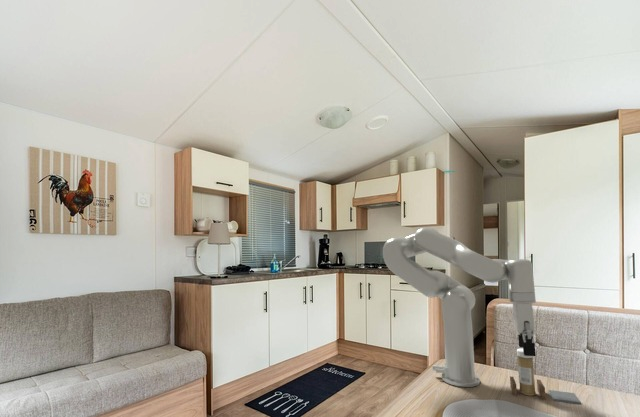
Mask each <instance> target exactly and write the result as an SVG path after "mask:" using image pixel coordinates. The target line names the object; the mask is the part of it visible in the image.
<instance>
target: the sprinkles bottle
mask: <svg viewBox="0 0 640 417" xmlns="http://www.w3.org/2000/svg"><path fill="white" fill-rule="evenodd" d="M516 355H517V367H518V368H517V370H518V382H519V392H520V394H522V395H524V396H530V397H532V396H536V386H535V385H536V384H535V382H536V381H535V372H534V361H533V360H534V356H525V355H524V352H523V347H519V348H517V349H516Z"/></svg>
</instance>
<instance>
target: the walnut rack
mask: <svg viewBox="0 0 640 417" xmlns="http://www.w3.org/2000/svg"><path fill="white" fill-rule="evenodd" d="M509 381H510V382H509V384H510V389H511V392H512V395H513V396H514V397H515V396H516V397H517V396H518V392H517V383H516V380H515V377H514V376H509ZM536 390H537V393H538V395H539V396H540V398H541V400H545V401H546V400H547V399H546V387H545V385H544V383H543V382H542V380H541V379H539V378H537V379H536Z"/></svg>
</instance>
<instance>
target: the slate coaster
mask: <svg viewBox="0 0 640 417" xmlns="http://www.w3.org/2000/svg"><path fill="white" fill-rule="evenodd" d="M547 390H548V391H547V392H548V394H549V395H550V397H551V398H552V401H554V402H561V403H568V404H577V405H582V402H581V400H580V399H579V397H577V395H576V393H574V392H568V391H560V390H551V389H547Z"/></svg>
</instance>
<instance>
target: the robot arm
mask: <svg viewBox="0 0 640 417" xmlns="http://www.w3.org/2000/svg"><path fill="white" fill-rule="evenodd" d="M424 253H428V254H430V255H432V256H435V257H436V258H439V259H440V260H444V261H445V262H447V263H449V264H451V265H452V266H455V267H456V268H458V269H460V270H462V271H464V272H466V273H467V274H470V275H471V276H473V277H476V278H478V279H480V280H482V281H484V282H487V283H492V284H493V283H498V282H500V281H504V280H507V286H508V287H507V288H508V298H509V302H510V303H512V316H513V328H514V331H515V332H516V333H517V334H518V335H517V338H518V339H517V340H518V346H519V348H523V352H524V355H525V356H533V357H536V353H537V352H536V346H535V344H536V343H535V340H534V335H535V334H536V333H535V332H536V330H535V328H536V327H535V319H534V309H533V304H535V303H536V302H537V301H536V299H537V298H536V291H535V281H534V280H535V279H534V270H533V263H532V261H531V260H529V259H523V258H521V259H519V258H517V259H516V258H515V259H501V258H489V257H487V256H485V255H483V254H480V253H478V252H476V251H474V250H471V249H470V248H469V247H467V246H466V245H465V244H464V243H462V242H460V241H459V240H456V239H454V238H452V237H449V236H447V235H445V234H442V233H440V232H439V231H438V230H436V229H434V228H429V227H422V228H419V229H417V230H416V231H415V233H414V234H411V235H409V236H406V237H392V238H390V239H388V240H387V241H385V243H384V244H383V247H382V257H383V261H384V264H385V265H386V266H387V268H388V269H389V271H390V272H392V273H393V274H394V275H395V276H397V277H398V278H400V279H401V280H403V281H404V282H405V283H407V284H408V285H410V286H411V287H413V288H414V289H415V290H417V291H418V292H420V293H421V294H422V295H423V296H425V297H427V298H432V299H433V298H436V297H437V298H439V299H440V300H441V313H442V318H443V320H442V321H443V334H444V355H445V358H444V359H445V362H444V365H443V364H441V365H438V364H437V365H436V364H433V365H432V371H434V372H435V373H436V374H437V373H439V374H441V375H440V376H441V380H442V381H443V382H445V383H447V384H448V385H452V386H454V387H455V386H456V387H461V388H472V387H476V386H479V385H480V383H481V379H480V377H479V376H477V375H476V372H475V369H476V368H475V352H474V351H475V350H474V348H475V347H474V335H473V334H474V333H473V322H472V321H473V320H472V313H471V312H472V310H473V309H474V307H475V306H476V305H475V304H476V297H475V294H474V292H473V291H472V290H471V289H470V288H468V287H467V286H466V285H464V284H462V283H461V282H459V281H458V280H456V279H454V278H453V277H452V276H450V275H448V274H447V273H445V272H442V271H441V270H440V271H439V270H429V269H427V268H426V267H423V266H422V265H420V263H417V262H416V261H414V260H412V259H410V258H412V257H415V256H418V255H421V254H424Z"/></svg>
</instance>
